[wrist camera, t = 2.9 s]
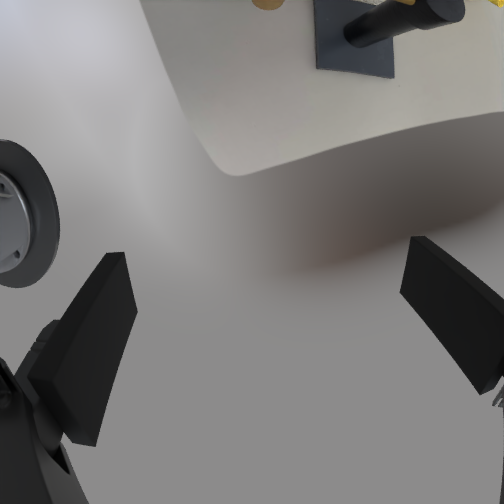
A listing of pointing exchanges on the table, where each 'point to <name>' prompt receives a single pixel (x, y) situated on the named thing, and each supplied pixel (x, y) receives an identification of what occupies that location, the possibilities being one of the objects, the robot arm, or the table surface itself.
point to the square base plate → (357, 36)
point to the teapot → (497, 2)
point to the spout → (409, 11)
